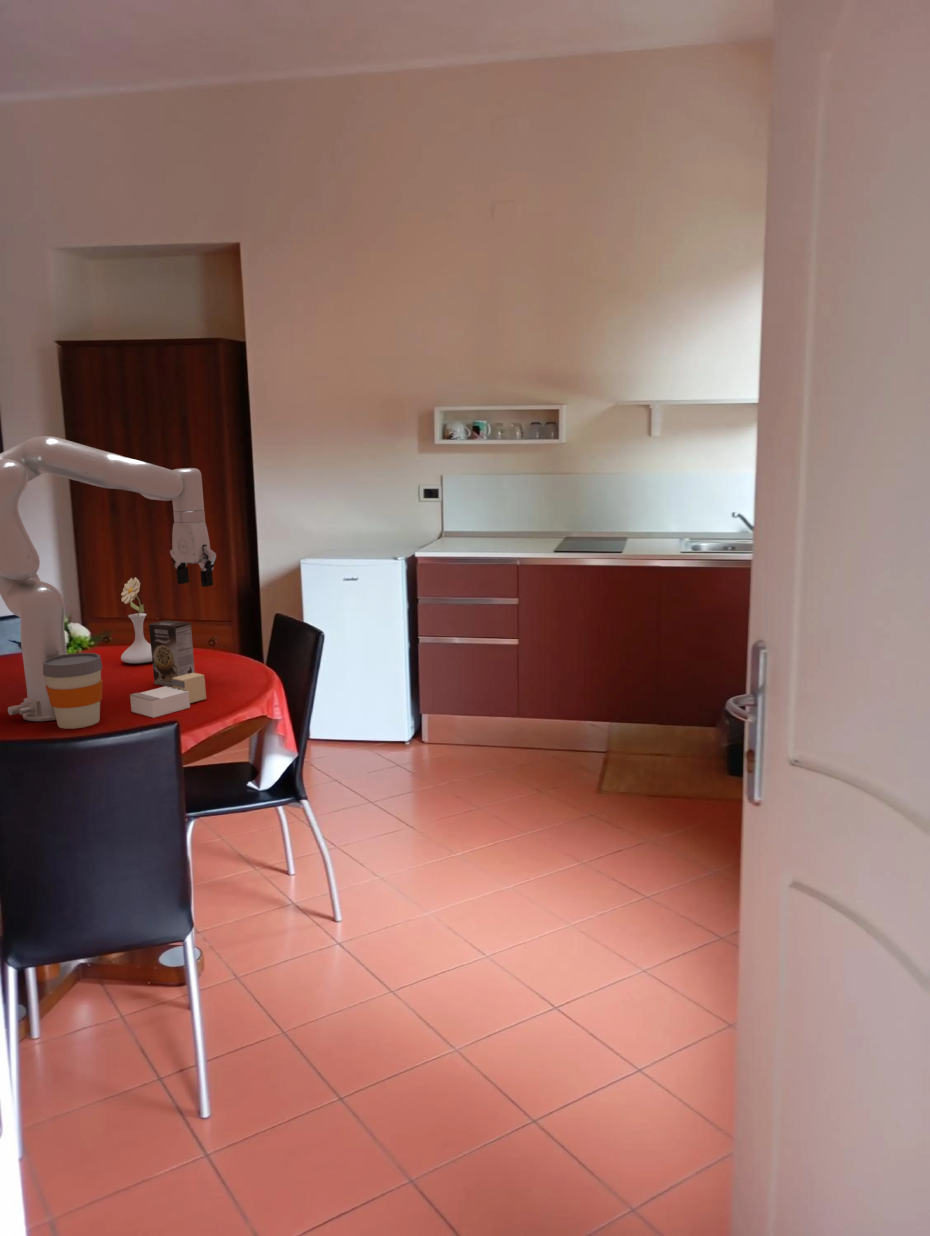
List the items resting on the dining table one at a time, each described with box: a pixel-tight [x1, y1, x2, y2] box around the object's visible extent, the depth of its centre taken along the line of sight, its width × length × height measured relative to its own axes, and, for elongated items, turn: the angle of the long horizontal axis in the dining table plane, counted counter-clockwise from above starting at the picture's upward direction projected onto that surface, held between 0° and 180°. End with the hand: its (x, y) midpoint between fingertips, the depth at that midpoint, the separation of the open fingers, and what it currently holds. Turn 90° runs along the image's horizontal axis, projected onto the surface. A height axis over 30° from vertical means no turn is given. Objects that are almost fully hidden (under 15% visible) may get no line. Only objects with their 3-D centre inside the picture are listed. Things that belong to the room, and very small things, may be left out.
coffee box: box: [148, 620, 196, 687], centre depth 258 cm, size 9×6×16 cm
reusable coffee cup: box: [43, 652, 103, 730], centre depth 225 cm, size 13×13×15 cm
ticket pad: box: [129, 685, 191, 719], centre depth 234 cm, size 10×9×4 cm
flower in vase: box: [120, 577, 152, 665], centre depth 282 cm, size 13×11×25 cm
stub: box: [172, 672, 207, 704], centre depth 240 cm, size 6×4×6 cm
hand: (195, 584), depth 253 cm, fingers open, 9 cm apart
